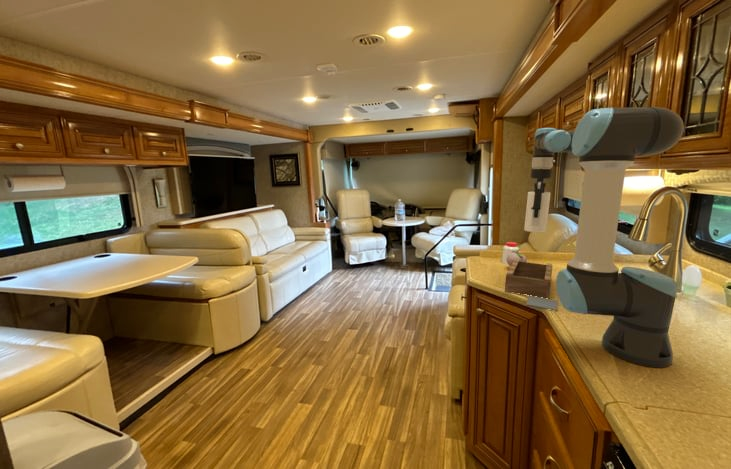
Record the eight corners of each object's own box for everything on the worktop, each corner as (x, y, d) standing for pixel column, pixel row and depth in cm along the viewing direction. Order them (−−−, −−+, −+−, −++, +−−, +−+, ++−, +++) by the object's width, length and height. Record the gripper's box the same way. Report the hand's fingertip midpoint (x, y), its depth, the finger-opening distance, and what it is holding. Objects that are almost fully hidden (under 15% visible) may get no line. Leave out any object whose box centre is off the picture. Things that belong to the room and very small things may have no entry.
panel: (557, 311, 117) (557, 310, 117) (526, 305, 122) (526, 304, 122) (557, 302, 125) (557, 300, 125) (528, 296, 130) (528, 295, 130)
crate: (548, 299, 128) (551, 280, 126) (504, 291, 136) (506, 273, 134) (550, 280, 150) (552, 263, 148) (512, 274, 158) (514, 258, 156)
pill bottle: (500, 263, 177) (502, 243, 174) (503, 260, 183) (505, 240, 181) (515, 265, 172) (518, 245, 170) (518, 262, 178) (520, 242, 176)
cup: (542, 233, 132) (547, 193, 129) (521, 230, 138) (525, 192, 134) (548, 230, 138) (553, 192, 135) (527, 228, 144) (531, 191, 140)
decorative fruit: (501, 267, 169) (503, 248, 167) (515, 266, 171) (517, 247, 169) (514, 273, 160) (516, 253, 158) (528, 271, 162) (530, 252, 160)
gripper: (551, 168, 122) (544, 228, 127) (553, 168, 140) (546, 221, 144) (529, 168, 126) (523, 226, 130) (533, 168, 144) (528, 220, 148)
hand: (535, 224), depth 137 cm, fingers closed on cup, 8 cm apart
